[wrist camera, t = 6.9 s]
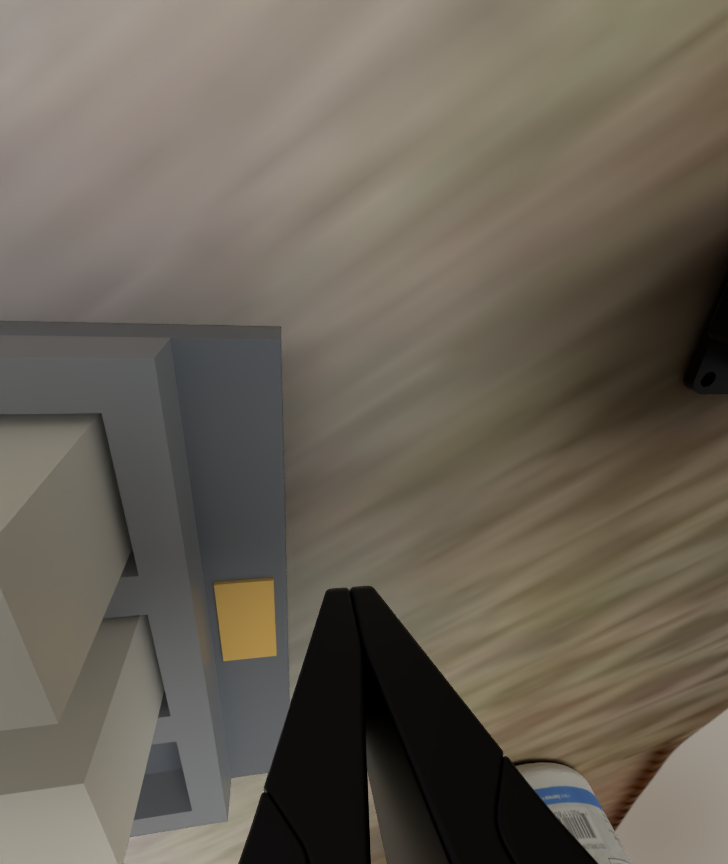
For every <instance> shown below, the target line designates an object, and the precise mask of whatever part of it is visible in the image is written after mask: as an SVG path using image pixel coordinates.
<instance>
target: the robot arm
mask: <svg viewBox="0 0 728 864" xmlns="http://www.w3.org/2000/svg"><path fill="white" fill-rule="evenodd" d="M704 375H705V376H704ZM703 376H704V377H703ZM683 381H684V385H685V387H686V388H688V389H690V390H692V391H694V392H696V393H699V394H728V271H727V273H726V276H725V278H724V281H723V283H722V285H721V288H720V290H719V293H718V295H717V298H716V300H715V302H714V305H713V307H712V310H711V312H710V315H709V317H708V319H707V322H706V324H705V327H704V329H703V332H702V334H701V336H700V339H699V341H698V344H697V346H696V349H695V351H694V353H693V356H692V358H691V361H690V363H689V366H688V368H687V370H686V373H685V376H684V380H683ZM367 771H368V776H369V781H370V785H371V790H372V795H373V799H374V804H375V809H376V814H377V818H378V823H379V828H380V833H381V837H382V842H383V847H384V851H385V856H386V861H387V864H599V863H598V862H597V861H596V860H595V859H594V858H593V857H592V856H591V855H590V853H589V852H588V851H587V850H586V849H585V848H584V847H583V846H582V845H581V844H580V842H579V841H578V840H577V839H576V838H575V837H574V836H573V835H572V834H571V833H570V831H569V830H568V829H567V828H566V827H565V826H564V825H563V824H562V823H561V821H560V820H559V819H558V818H557V817H556V816H555V815H554V813H553V812H552V811H551V810H550V809H549V807H548V806H547V805H546V804H545V802H544V801H543V800H542V799H541V798H540V796H539V795H538V794H537V793H536V792H535V790H534V789H533V788H532V787H531V786H530V784H529V783H528V782H527V781H526V779H525V778H524V777H523V776H522V774H521V773H520V772H519V771H518V769H517V768H516V767H515V765H514V764H513V763H512V762H511V760H510V759H509V758H508V757H507V756H504V757H503V751H502V749H501V748H500V747H499V746H498V744H497V743H496V742H495V740H494V739H493V738H492V737H491V735H490V734H489V733H488V732H487V730H486V729H485V728H484V727H483V725H482V724H481V723H480V721H479V720H478V719H477V718H476V716H475V715H474V714H473V713H472V711H471V710H470V709H469V708H468V706H467V705H466V704H465V703H464V701H463V700H462V699H461V697H460V696H459V695H458V694H457V692H456V691H455V690H454V689H453V687H452V686H451V685H450V684H449V682H448V681H447V680H446V679H445V677H444V676H443V675H442V673H441V672H440V671H439V670H438V668H437V667H436V666H435V665H434V663H433V662H432V661H431V660H430V658H429V657H428V656H427V654H426V653H425V652H424V651H423V649H422V648H421V647H420V646H419V644H418V643H417V642H416V641H415V639H414V638H413V637H412V636H411V634H410V633H409V632H408V630H407V629H406V628H405V627H404V625H403V624H402V623H401V622H400V620H399V619H398V618H397V617H396V615H395V614H394V613H393V612H392V610H391V609H390V608H389V606H388V605H387V604H386V603H385V601H384V600H383V599H382V598H381V596H380V595H379V594H378V593H377V591H376V590H375V589H374V588H373V587H372V586H358V587H352V588H351V589H350V591H349V589H348V588H332V589H328V590H327V591H326V593H325V596H324V599H323V602H322V605H321V608H320V612H319V615H318V618H317V621H316V624H315V627H314V631H313V634H312V637H311V640H310V643H309V646H308V650H307V653H306V656H305V659H304V662H303V665H302V669H301V672H300V675H299V678H298V681H297V684H296V688H295V691H294V694H293V697H292V700H291V704H290V707H289V710H288V713H287V716H286V719H285V723H284V726H283V729H282V732H281V735H280V738H279V742H278V745H277V748H276V751H275V754H274V757H273V761H272V764H271V767H270V770H269V773H268V776H267V780H266V783H265V786H264V793H262V795H261V797H260V801H259V804H258V807H257V810H256V813H255V816H254V820H253V823H252V826H251V829H250V832H249V835H248V837H247V840H246V843H245V846H244V849H243V852H242V855H241V858H240V861H239V863H238V864H371V855H370V830H369V804H368V779H367Z"/></svg>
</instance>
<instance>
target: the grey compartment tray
mask: <svg viewBox="0 0 728 864" xmlns="http://www.w3.org/2000/svg"><path fill="white" fill-rule="evenodd" d="M75 413H102V417H103V421H104V426H105V430H106V434H107V439H108V443H109V448H110V452H111V456H112V461H113V465H114V470H115V474H116V478H117V483H118V487H119V492H120V496H121V500H122V505H123V509H124V513H125V518H126V522H127V527H128V531H129V535H130V540H131V544H132V551H131V553H130V555H129V558H128V560H127V562H126V565H125V567H124V569H123V572H122V574H121V577H120V579H119V581H118V584H117V586H116V588H115V591H114V593H113V596H112V598H111V600H110V603H109V605H108V607H107V610H106V612H105V614H104V617H103V618H113V617H125V616H137V615H148V619H149V623H150V628H151V632H152V636H153V641H154V645H155V650H156V654H157V658H158V663H159V667H160V672H161V676H162V680H163V685H164V694H163V698H162V702H161V706H160V711H159V715H158V719H157V723H156V728H155V732H154V736H153V740H152V744H151V749H150V753H149V757H148V761H147V766H146V770H145V774H144V778H143V782H142V787H141V791H140V795H139V799H138V804H137V808H136V812H135V816H134V821H133V825H132V829H131V833H130V837H134V836H140V835H146V834H152V833H158V832H164V831H170V830H176V829H182V828H188V827H195V826H201V825H207V824H213V823H219V822H225V821H228V811H229V799H230V787H231V778H234V777H241V776H248V775H255V774H261V773H268V772H269V770H270V767H271V764H272V761H273V757H274V754H275V751H276V748H277V745H278V742H279V738H280V735H281V732H282V729H283V726H284V723H285V719H286V716H287V713H288V710H289V707H290V701H289V659H288V617H287V575H286V534H285V492H284V450H283V408H282V366H281V327H270V326H219V325H169V324H119V323H69V322H18V321H0V414H75Z"/></svg>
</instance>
